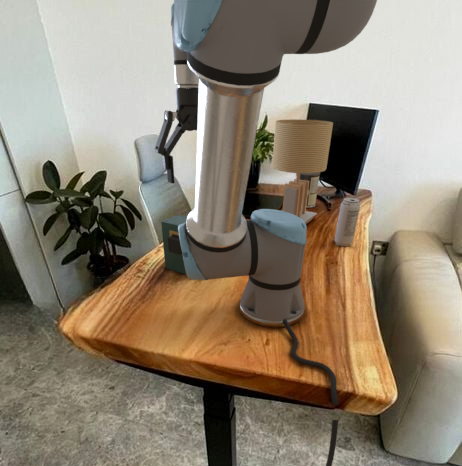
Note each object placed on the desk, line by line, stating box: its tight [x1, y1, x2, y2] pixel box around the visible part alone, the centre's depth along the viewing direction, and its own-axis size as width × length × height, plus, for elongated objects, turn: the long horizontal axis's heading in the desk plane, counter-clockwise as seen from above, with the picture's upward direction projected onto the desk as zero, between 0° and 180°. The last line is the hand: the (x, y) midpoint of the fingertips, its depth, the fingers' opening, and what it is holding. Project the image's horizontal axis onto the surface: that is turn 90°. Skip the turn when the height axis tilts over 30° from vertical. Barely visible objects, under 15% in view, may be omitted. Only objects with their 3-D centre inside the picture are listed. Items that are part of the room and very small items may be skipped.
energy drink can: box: [334, 197, 361, 247], centre depth 116 cm, size 6×6×15 cm
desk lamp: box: [271, 119, 334, 225], centre depth 130 cm, size 20×20×35 cm
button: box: [168, 235, 182, 255], centre depth 95 cm, size 5×4×4 cm
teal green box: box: [160, 214, 188, 276], centre depth 98 cm, size 7×12×14 cm, turn 59°
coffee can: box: [295, 172, 321, 209], centre depth 156 cm, size 10×10×14 cm
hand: (194, 179), depth 94 cm, fingers open, 13 cm apart
